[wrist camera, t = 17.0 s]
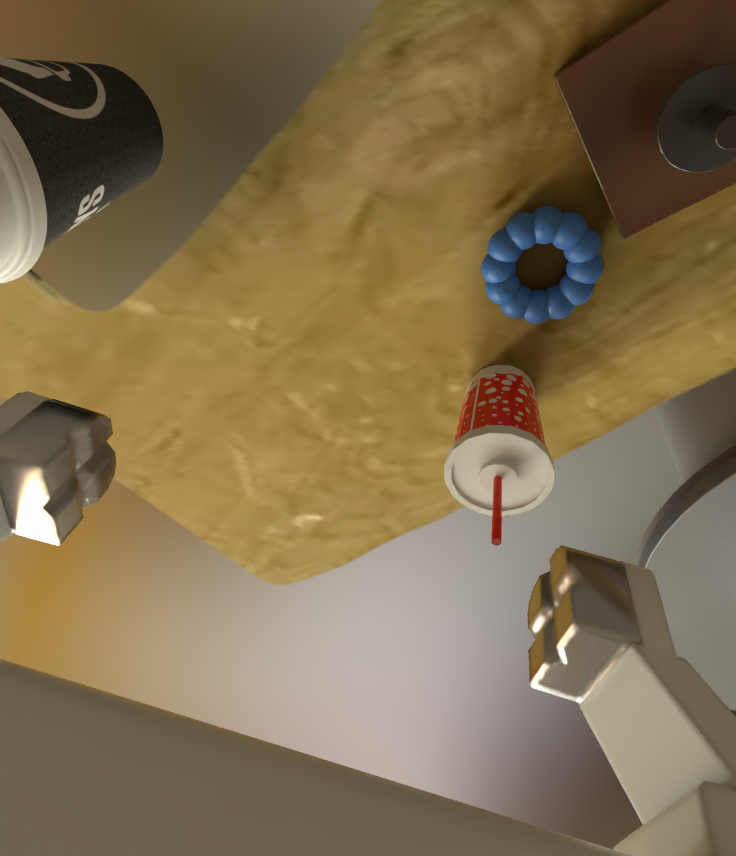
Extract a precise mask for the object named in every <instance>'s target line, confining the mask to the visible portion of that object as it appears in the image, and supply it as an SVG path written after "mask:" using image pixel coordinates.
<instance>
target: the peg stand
mask: <svg viewBox="0 0 736 856" xmlns="http://www.w3.org/2000/svg"><path fill="white" fill-rule="evenodd" d="M553 76H554V79H555V81H556V84H557V86H558V88H559V91H560V93H561V95H562V98H563V100H564V102H565V105H566V107H567V109H568V112H569V114H570V117H571V119H572V121H573V124H574V126H575V128H576V131H577V133H578V135H579V138H580V140H581V142H582V145H583V147H584V149H585V152H586V154H587V157H588V159H589V161H590V164H591V166H592V168H593V171H594V173H595V175H596V178H597V180H598V182H599V185H600V187H601V190H602V192H603V194H604V197H605V199H606V201H607V204H608V206H609V208H610V211H611V213H612V215H613V218H614V220H615V223H616V225H617V227H618V230H619V232H620V234H621V236H622V238H623V239H625V238H627V237H629V236H631V235H633V234H635V233H637V232H639V231H641V230H643V229H645V228H647V227H649V226H651V225H653V224H655V223H657V222H659V221H661V220H663V219H665V218H667V217H669V216H671V215H673V214H675V213H677V212H679V211H681V210H683V209H685V208H687V207H689V206H691V205H693V204H695V203H697V202H699V201H701V200H703V199H705V198H707V197H709V196H711V195H713V194H715V193H717V192H719V191H721V190H723V189H725V188H727V187H729V186H731V185H733V184H735V183H736V0H664V1H662V2H661V3H659V4H658V5H657V6H655V7H654V8H652V9H651V10H649V11H648V12H646V13H645V14H643V15H642V16H640V17H639V18H637V19H636V20H634V21H633V22H631V23H630V24H628V25H627V26H625V27H624V28H622V29H621V30H619V31H618V32H616V33H615V34H613V35H612V36H610V37H609V38H607V39H606V40H604V41H603V42H601V43H600V44H598V45H597V46H595V47H594V48H592V49H591V50H589V51H588V52H586V53H585V54H583V55H582V56H580V57H579V58H577V59H576V60H574V61H573V62H571V63H570V64H568V65H567V66H566V67H564V68H563V69H561V70H560V71H558V72H557V73H555V74H554V75H553Z"/></svg>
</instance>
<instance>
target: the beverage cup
mask: <svg viewBox="0 0 736 856" xmlns="http://www.w3.org/2000/svg"><path fill="white" fill-rule="evenodd" d="M444 466H445V483H446V485H447V486H448V488H449V490H450V492H451V494H452V496H453V497H454V498H456V499H457V500H458V501H459V502H461V503H462V504H463V505H464V506H466V507H467V508H469V509H472V510H474V511H477V512H480V513H482V514H485V515H492V544H494V545H500V544H501V523H502V516H510V515H515V514H519V513H524V512H527V511H529V510H530V509H532V508H534V507H535V506H537V505H538V504H540V503H542V502H543V501H544V499H545V498H546V497H547V495H548V494H549V492H550V491H551V490H552V488H553V481H554V473H555V470H554V466H553V461H552V458H551V456H550V454H549V451H548V449H547V447H546V446H545V441H544V436H543V430H542V425H541V420H540V415H539V409H538V404H537V399H536V394H535V389H534V386H533V384H532V381H531V379H530V378H529V377H528V376H527V375H526V374H525V373H524V372H523V371H522V370H520V369H518V368H515V367H512V366H510V365H493V366H490V367H487V368H484V369H482V370H480V371H479V372H478V373H477V374H475V375H474V376H473V377H472V379H471V381H470V383H469V385H468V387H467V390H466V395H465V399H464V403H463V407H462V411H461V415H460V420H459V424H458V428H457V432H456V436H455V441H454V443H453V445H452V447H451V449H450V451H449V453H448V455H447V457H446V461H445V465H444Z"/></svg>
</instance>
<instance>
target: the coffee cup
mask: <svg viewBox="0 0 736 856" xmlns="http://www.w3.org/2000/svg"><path fill="white" fill-rule="evenodd" d="M162 151H163V135H162V129H161V125H160V121H159V118H158V116H157V113H156V111H155V109H154V107H153V105H152V103H151V101H150V99H149V98H148V96H147V95H146V94H145V92H144V91H143V90H142V89H141V87H140V86H139V85H138V84H137V83H136V82H135V81H134V80H133V79H131V78H130V77H128V76H127V75H126V74H125V73H123V72H121V71H119V70H117V69H115V68H113V67H110V66H106V65H101V64H88V63H71V62H56V61H41V60H26V59H11V58H0V283H5V282H9V281H12V280H15V279H17V278H19V277H21V276H22V275H24V274H25V273H26V272H28V271H29V270H30V269H31V268H32V267H33V265H34V264H35V263H36V261H37V260H38V258H39V256H40V254H41V252H42V249H43V248H44V247H45V246H47V245H48V244H50V243H51V242H53V241H54V240H56V239H57V238H59V237H60V236H62V235H63V234H65V233H66V232H68V231H69V230H71V229H72V228H74V227H75V226H77V225H79V224H80V223H82V222H83V221H85V220H86V219H88V218H89V217H91V216H92V215H94V214H95V213H97V212H98V211H100V210H101V209H103V208H104V207H106V206H108V205H109V204H111V203H112V202H113V201H115V200H117V199H118V198H120V197H121V196H123V195H124V194H126V193H128V192H129V191H131V190H132V189H134V188H135V187H137V186H138V185H140V184H141V183H143V182H144V181H146V180H147V179H148V178H150V177H151V176H152V175H153V174H154V172H155V171H156V169H157V168H158V166H159V163H160V160H161V157H162Z"/></svg>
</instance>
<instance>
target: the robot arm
mask: <svg viewBox="0 0 736 856" xmlns="http://www.w3.org/2000/svg"><path fill="white" fill-rule="evenodd" d="M112 434H113V431H112V425H111V419H110V418H108V417H107V416H105V415H103V414H100V413H97V412H94V411H90V410H87V409H84V408H81V407H78V406H74V405H71V404H68V403H65V402H62V401H58V400H55V399H50V398H47V397H43V396H40V395H37V394H34V393H31V392H28V391H27V392H22V393H17V394H16V395H14V396H13V397H12V398H10V399H9V400H8V401H6V402H5V403H4V404H2V405H1V406H0V542H1V541H3V540H5V539H7V538H9V537H11V536H12V533H14V534H18V535H21V536H25V537H29V538H33V539H36V540H40V541H44V542H48V543H51V544H55V545H60V544H61V543H62V542H63V541H64V540H65V539H66V538H67V536H68V535H69V534H70V533H71V532H72V531H73V530H74V528H75V527H76V526H77V525H78V524H79V523H80V521H81V520H82V519H83V509H82V507H84V506H87V505H89V504H92V503H94V502H97V501H99V499H100V498H101V497H102V496H103V494H104V493H105V492H106V491H107V490H108V488H109V485H110V483H111V481H112V479H113V477H114V474H115V467H116V457H115V452H114V451H113V449H112V448H111V447H110V445H109V444H108V443H107V441H106V440H107V439H108V438H109V437H110V436H111V435H112ZM550 570H551V571H550V572H547V573H545V574H543V575H540V576H539V578H538V580H537V582H536V584H535V586H534V588H533V591H532V594H531V598H530V601H529V607H528V628H529V630H530V631H531V633H532V634H533V636H534V638H535V639H536V640H535V641H534V643H533V644H532V646H531V647H530V649H529V650H528V651H529V675H530V687H533V688H536V689H539V690H542V691H545V692H548V693H551V694H554V695H557V696H560V697H563V698H566V699H569V700H572V701H575V702H579V703H581V704H580V705H579V706H580V708H581V710H582V712H583V714H584V716H585V717H586V719H587V721H588V723H589V725H590V727H591V729H592V731H593V732H594V734H595V736H596V738H597V740H598V742H599V744H600V745H601V747H602V749H603V751H604V753H605V755H606V757H607V758H608V760H609V762H610V764H611V766H612V768H613V770H614V772H615V773H616V775H617V777H618V779H619V781H620V783H621V784H622V787H623V788H624V790H625V792H626V794H627V796H628V797H629V799H630V801H631V803H632V805H633V807H634V809H635V811H636V813H637V814H638V816H639V818H640V820H641V822H642V824H643V826H642V827H640V828H639V829H637V830H636V831H635V832H633V833H632V834H630V835H629V836H628V837H626V838H625V839H624V840H622V841H621V842H620V843H619V844H617V845H616V846H615V847H614V850H612V849H609V848H606V847H603V846H599V845H596V844H593V843H589V842H586V841H583V840H580V839H577V838H574V837H570V836H567V835H564V834H561V833H558V832H554V831H551V830H548V829H545V828H541V827H538V826H535V825H532V824H529V823H525V822H522V821H519V820H516V819H512V818H509V817H506V816H503V815H499V814H496V813H493V812H490V811H487V810H484V809H480V808H477V807H474V806H471V805H468V804H464V803H461V802H458V801H455V800H452V799H448V798H445V797H442V796H439V795H436V794H432V793H429V792H426V791H423V790H419V789H416V788H413V787H410V786H407V785H403V784H400V783H397V782H394V781H390V780H388V779H384V778H381V777H378V776H374V775H371V774H368V773H365V772H362V771H359V770H356V769H352V768H349V767H346V766H343V765H339V764H336V763H333V762H330V761H327V760H323V759H320V758H317V757H314V756H311V755H308V754H304V753H301V752H298V751H294V750H292V749H288V748H285V747H282V746H279V745H276V744H272V743H269V742H266V741H263V740H260V739H256V738H253V737H250V736H247V735H244V734H240V733H237V732H234V731H230V730H227V729H224V728H221V727H218V726H215V725H211V724H208V723H205V722H202V721H199V720H195V719H192V718H189V717H186V716H182V715H179V714H175V713H172V712H170V711H166V710H163V709H160V708H157V707H153V706H150V705H147V704H144V703H141V702H137V701H134V700H131V699H128V698H124V697H121V696H118V695H115V694H112V693H108V692H105V691H102V690H99V689H96V688H92V687H89V686H86V685H83V684H79V683H76V682H73V681H70V680H67V679H64V678H60V677H57V676H54V675H51V674H47V673H44V672H41V671H38V670H34V669H31V668H28V667H25V666H22V665H18V664H15V663H12V662H9V661H6V660H2V659H0V856H736V717H735V716H734V715H733V713H732V712H731V711H730V710H729V709H728V708H727V706H726V705H725V704H724V703H723V702H722V701H721V699H720V698H719V697H718V696H717V695H716V693H715V692H714V691H713V690H712V689H711V688H710V686H709V685H708V684H707V683H706V682H705V681H704V679H703V678H702V677H701V676H700V675H699V673H698V672H697V671H696V670H695V669H694V668H693V666H692V665H691V664H690V663H689V662H688V661H687V659H685V658H682V657H679V656H677V655H676V651H675V648H674V644H673V640H672V637H671V633H670V629H669V626H668V622H667V618H666V615H665V611H664V607H663V604H662V600H661V597H660V593H659V589H658V586H657V582H656V578H655V575H654V574H653V573H652V571H651V570H650V569H646V568H643V567H639V566H635V565H631V564H627V563H624V562H618V561H616V560H612V559H609V558H605V557H601V556H598V555H594V554H591V553H587V552H584V551H580V550H576V549H573V548H569V547H566V546H562V545H561V546H560V547H559V548H558V549H556V550H555V552H554V553H553V555H552V557H551V558H550Z"/></svg>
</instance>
